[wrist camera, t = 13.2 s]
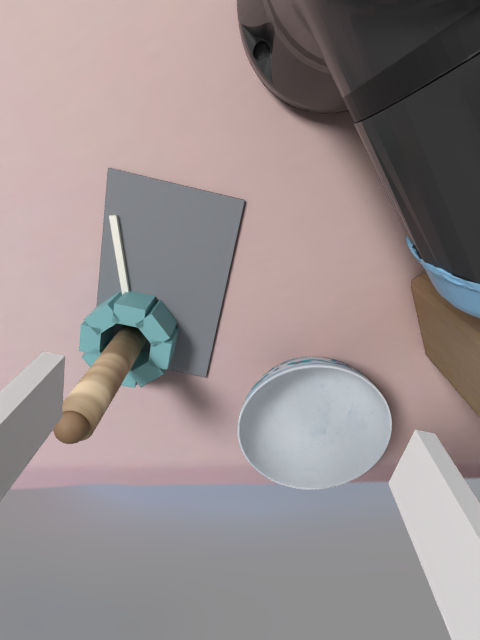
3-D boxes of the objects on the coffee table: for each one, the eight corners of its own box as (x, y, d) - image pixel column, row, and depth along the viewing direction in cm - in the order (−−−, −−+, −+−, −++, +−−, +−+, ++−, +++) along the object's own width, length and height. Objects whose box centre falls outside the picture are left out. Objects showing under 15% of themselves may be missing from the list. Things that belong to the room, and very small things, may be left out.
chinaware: (250, 446, 49) (250, 496, 41) (229, 339, 43) (224, 376, 36) (372, 433, 47) (393, 482, 40) (367, 321, 41) (391, 355, 34)
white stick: (110, 215, 38) (108, 215, 37) (117, 214, 38) (115, 215, 37) (123, 293, 41) (122, 294, 40) (130, 293, 41) (128, 294, 40)
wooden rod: (124, 315, 42) (42, 415, 26) (151, 321, 42) (87, 424, 26) (121, 339, 43) (41, 449, 27) (148, 345, 43) (84, 458, 27)
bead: (98, 283, 40) (82, 296, 37) (183, 302, 41) (176, 316, 37) (92, 357, 44) (77, 376, 40) (170, 374, 44) (162, 393, 41)
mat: (109, 167, 36) (107, 168, 36) (244, 199, 37) (244, 200, 37) (94, 352, 44) (92, 353, 44) (206, 375, 45) (205, 377, 44)
